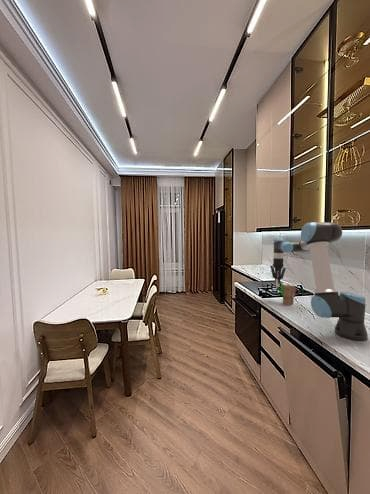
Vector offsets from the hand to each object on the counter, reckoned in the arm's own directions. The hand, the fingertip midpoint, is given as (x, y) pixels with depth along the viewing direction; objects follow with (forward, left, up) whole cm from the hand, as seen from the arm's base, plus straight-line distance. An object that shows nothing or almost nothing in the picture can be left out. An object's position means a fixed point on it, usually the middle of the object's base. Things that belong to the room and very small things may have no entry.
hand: (277, 287), depth 193 cm
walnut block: (0, -9, -12) cm, 15 cm away
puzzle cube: (+24, +3, -12) cm, 27 cm away
